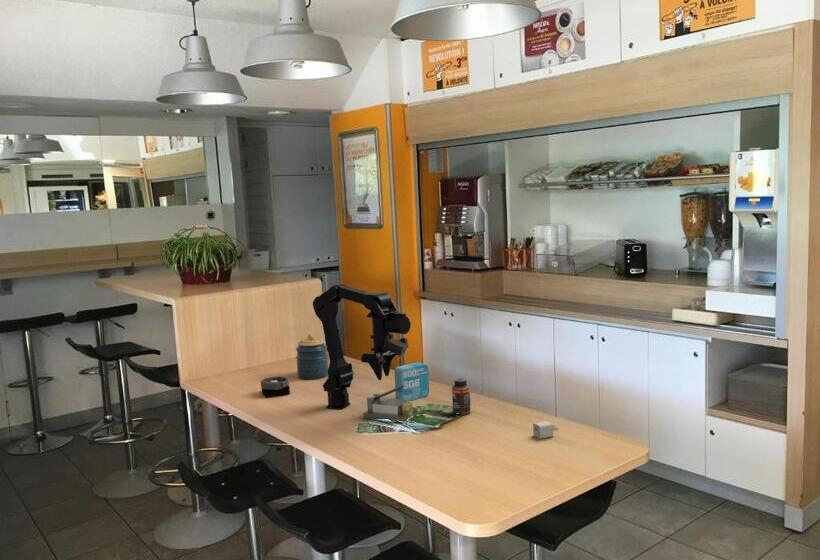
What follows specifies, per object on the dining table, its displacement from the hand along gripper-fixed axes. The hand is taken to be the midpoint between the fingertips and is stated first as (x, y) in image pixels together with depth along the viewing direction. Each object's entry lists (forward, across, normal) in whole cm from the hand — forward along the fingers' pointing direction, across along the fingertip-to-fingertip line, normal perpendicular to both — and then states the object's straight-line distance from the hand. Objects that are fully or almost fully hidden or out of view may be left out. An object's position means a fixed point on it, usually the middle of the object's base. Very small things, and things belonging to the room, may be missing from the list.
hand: (383, 377), depth 234 cm
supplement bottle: (+13, +11, -23) cm, 29 cm away
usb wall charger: (+13, -2, -55) cm, 57 cm away
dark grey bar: (+6, 0, -1) cm, 6 cm away
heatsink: (+13, 0, -2) cm, 13 cm away
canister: (+13, +39, +53) cm, 67 cm away
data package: (+13, +22, 0) cm, 26 cm away
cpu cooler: (+13, +12, +53) cm, 56 cm away
